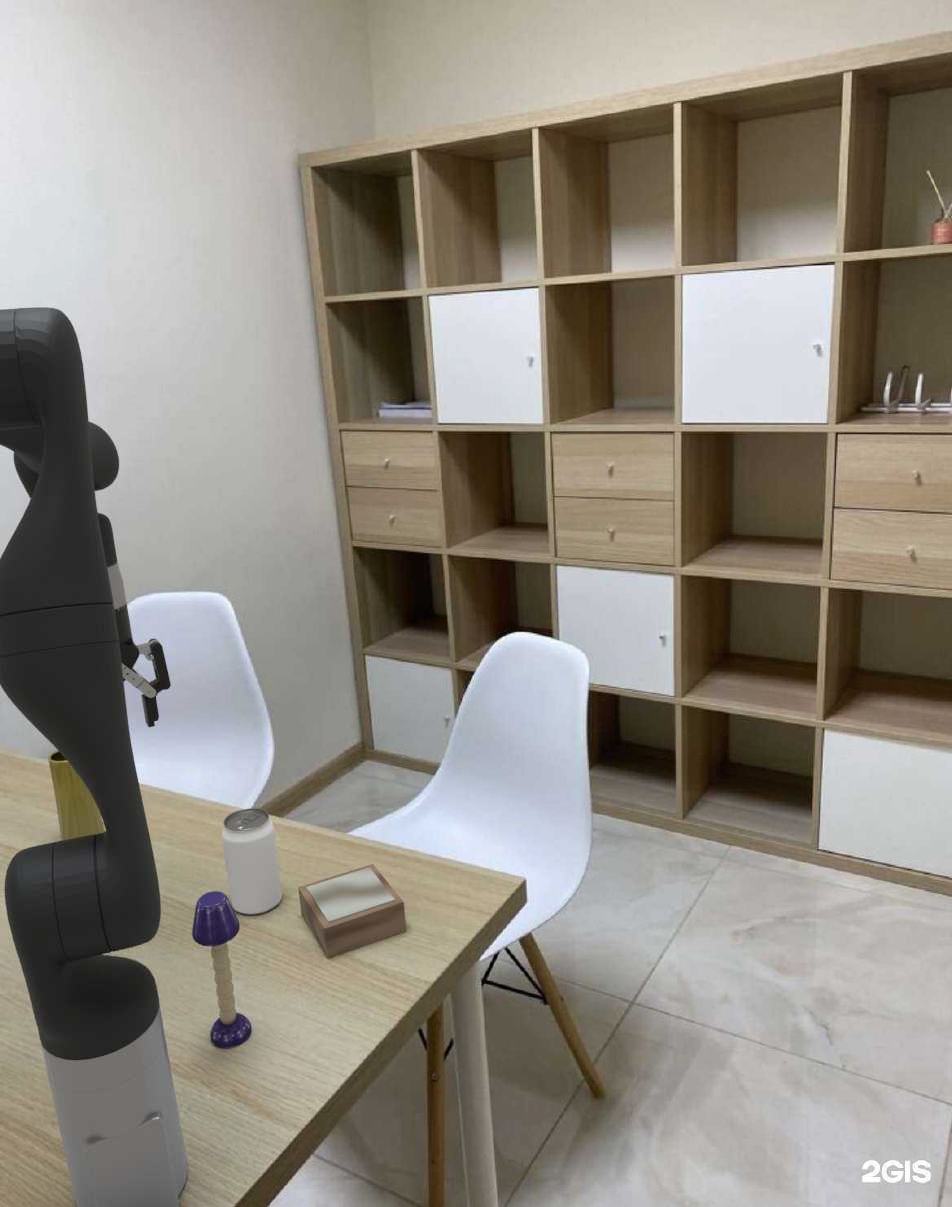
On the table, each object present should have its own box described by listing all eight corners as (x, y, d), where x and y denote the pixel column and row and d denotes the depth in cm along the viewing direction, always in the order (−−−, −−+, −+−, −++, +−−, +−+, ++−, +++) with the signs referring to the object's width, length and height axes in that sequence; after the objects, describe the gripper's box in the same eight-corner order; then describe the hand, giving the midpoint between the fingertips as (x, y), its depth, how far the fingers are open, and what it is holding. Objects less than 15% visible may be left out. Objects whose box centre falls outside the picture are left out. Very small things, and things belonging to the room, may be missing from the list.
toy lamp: (264, 1030, 101) (244, 892, 97) (230, 1058, 98) (208, 916, 93) (232, 1014, 104) (212, 879, 99) (198, 1041, 100) (176, 902, 96)
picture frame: (406, 930, 117) (403, 900, 116) (327, 958, 112) (324, 927, 111) (375, 890, 125) (372, 862, 124) (301, 915, 121) (298, 885, 120)
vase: (61, 838, 143) (44, 750, 139) (104, 827, 145) (89, 741, 141) (63, 857, 138) (45, 766, 134) (108, 846, 140) (92, 756, 136)
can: (221, 909, 123) (208, 825, 120) (254, 883, 129) (243, 802, 125) (260, 921, 120) (249, 835, 117) (293, 894, 126) (283, 811, 122)
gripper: (28, 623, 105) (54, 759, 109) (161, 599, 111) (181, 729, 116) (22, 608, 111) (47, 737, 116) (148, 586, 118) (167, 710, 122)
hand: (114, 733), depth 116 cm, fingers open, 8 cm apart
